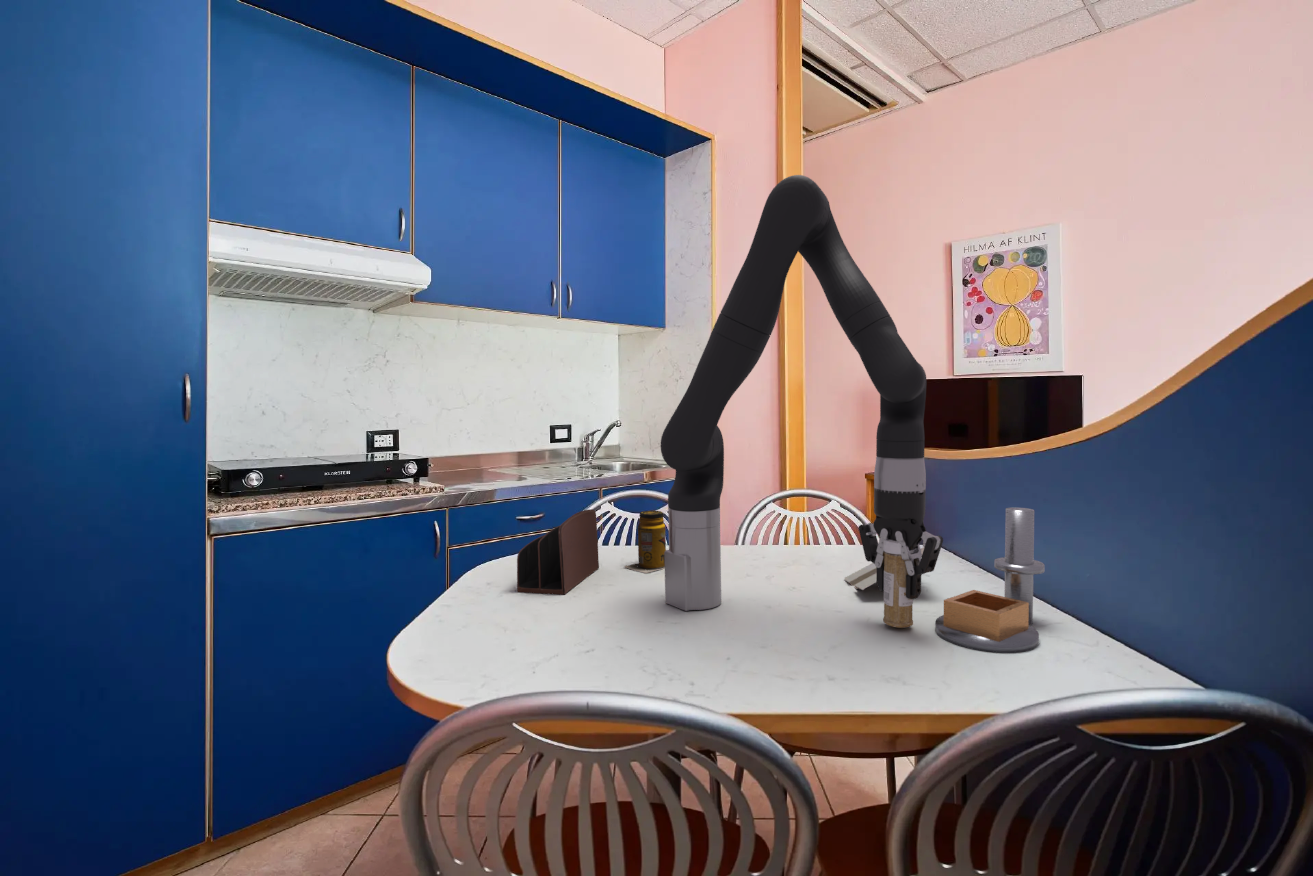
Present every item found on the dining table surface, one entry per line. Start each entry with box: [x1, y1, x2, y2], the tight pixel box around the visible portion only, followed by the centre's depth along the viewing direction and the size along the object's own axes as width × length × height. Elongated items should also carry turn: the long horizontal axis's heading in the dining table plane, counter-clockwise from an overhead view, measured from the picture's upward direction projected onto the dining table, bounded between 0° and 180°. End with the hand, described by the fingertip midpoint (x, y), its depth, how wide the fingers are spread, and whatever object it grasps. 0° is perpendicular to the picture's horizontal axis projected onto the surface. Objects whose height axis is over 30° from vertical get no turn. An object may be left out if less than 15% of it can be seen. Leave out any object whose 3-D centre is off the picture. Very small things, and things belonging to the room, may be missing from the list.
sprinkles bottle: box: [882, 539, 914, 629], centre depth 104 cm, size 5×5×14 cm
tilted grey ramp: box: [843, 546, 924, 591], centre depth 125 cm, size 16×9×15 cm
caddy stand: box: [934, 507, 1046, 654], centre depth 102 cm, size 20×14×18 cm
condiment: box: [623, 510, 667, 574], centre depth 145 cm, size 7×8×12 cm
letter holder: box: [516, 508, 600, 596], centre depth 136 cm, size 10×20×14 cm, turn 166°
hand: (898, 593), depth 105 cm, fingers closed on sprinkles bottle, 4 cm apart
